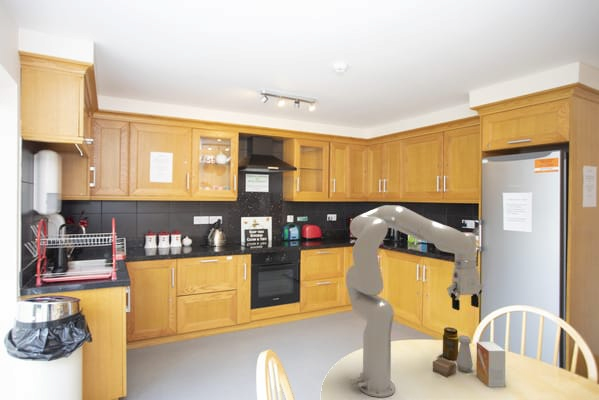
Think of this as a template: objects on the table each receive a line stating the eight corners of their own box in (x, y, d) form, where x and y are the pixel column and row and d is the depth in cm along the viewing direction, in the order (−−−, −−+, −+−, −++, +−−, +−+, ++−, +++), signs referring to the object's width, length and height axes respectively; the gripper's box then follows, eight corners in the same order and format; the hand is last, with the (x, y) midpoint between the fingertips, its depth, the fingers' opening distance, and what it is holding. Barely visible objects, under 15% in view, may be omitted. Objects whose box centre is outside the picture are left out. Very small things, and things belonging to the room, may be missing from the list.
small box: (475, 376, 130) (476, 341, 130) (492, 375, 130) (492, 341, 131) (488, 387, 122) (488, 350, 122) (505, 387, 122) (506, 350, 122)
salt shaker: (474, 374, 132) (474, 339, 132) (458, 372, 133) (458, 338, 133) (470, 367, 137) (470, 334, 137) (454, 365, 138) (455, 333, 139)
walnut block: (446, 378, 129) (446, 367, 129) (432, 371, 134) (432, 361, 134) (456, 373, 132) (456, 363, 132) (441, 367, 137) (441, 357, 137)
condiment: (462, 357, 145) (462, 329, 145) (453, 364, 139) (454, 334, 140) (444, 352, 151) (444, 324, 151) (436, 358, 145) (436, 329, 145)
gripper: (455, 267, 129) (455, 313, 129) (490, 264, 135) (490, 308, 135) (440, 264, 136) (440, 307, 136) (474, 261, 142) (474, 303, 142)
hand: (465, 307), depth 135 cm, fingers open, 9 cm apart
